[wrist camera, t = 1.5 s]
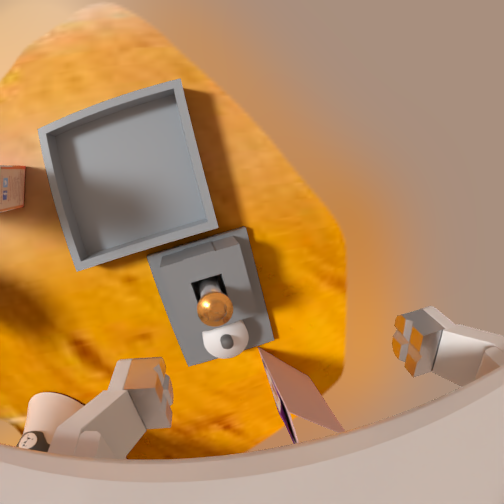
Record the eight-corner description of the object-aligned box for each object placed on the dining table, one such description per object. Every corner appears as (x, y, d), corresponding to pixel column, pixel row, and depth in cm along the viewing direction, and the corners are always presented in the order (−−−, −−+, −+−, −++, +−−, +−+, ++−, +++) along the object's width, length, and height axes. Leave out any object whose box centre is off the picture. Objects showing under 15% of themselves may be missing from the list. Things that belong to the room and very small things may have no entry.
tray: (215, 222, 40) (218, 227, 36) (85, 262, 38) (76, 271, 34) (180, 87, 35) (180, 78, 31) (49, 132, 33) (37, 129, 29)
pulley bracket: (272, 336, 46) (284, 357, 40) (188, 362, 44) (190, 387, 38) (244, 226, 41) (254, 234, 35) (147, 255, 39) (142, 268, 34)
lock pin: (224, 287, 41) (237, 320, 32) (197, 295, 41) (203, 330, 31) (216, 261, 40) (227, 289, 31) (189, 269, 40) (192, 299, 30)
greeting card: (252, 348, 46) (281, 414, 32) (298, 331, 47) (342, 389, 33) (269, 400, 49) (298, 465, 35) (310, 385, 50) (349, 444, 36)
